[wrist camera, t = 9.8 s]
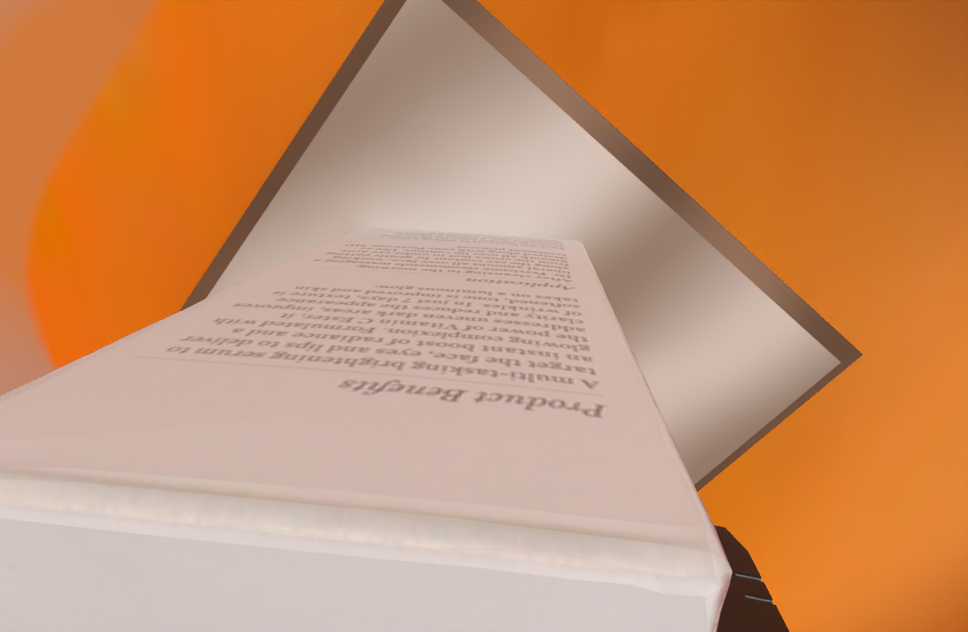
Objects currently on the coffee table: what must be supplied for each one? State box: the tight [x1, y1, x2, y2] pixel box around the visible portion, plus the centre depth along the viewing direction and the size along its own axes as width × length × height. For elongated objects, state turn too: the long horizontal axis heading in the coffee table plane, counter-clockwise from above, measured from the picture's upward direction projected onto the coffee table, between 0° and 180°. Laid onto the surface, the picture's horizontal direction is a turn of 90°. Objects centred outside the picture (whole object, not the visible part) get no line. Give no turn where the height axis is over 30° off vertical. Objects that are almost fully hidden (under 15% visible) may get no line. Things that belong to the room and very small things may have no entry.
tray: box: [180, 0, 863, 492], centre depth 16 cm, size 14×14×3 cm
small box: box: [0, 227, 732, 632], centre depth 9 cm, size 8×6×10 cm
